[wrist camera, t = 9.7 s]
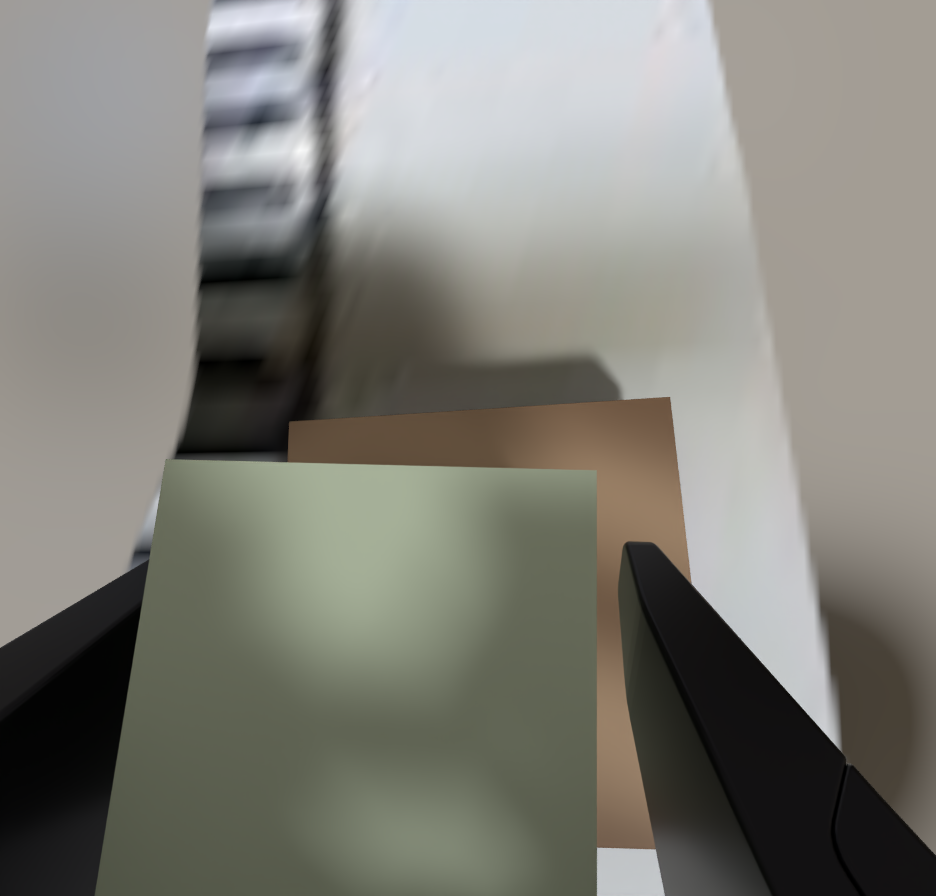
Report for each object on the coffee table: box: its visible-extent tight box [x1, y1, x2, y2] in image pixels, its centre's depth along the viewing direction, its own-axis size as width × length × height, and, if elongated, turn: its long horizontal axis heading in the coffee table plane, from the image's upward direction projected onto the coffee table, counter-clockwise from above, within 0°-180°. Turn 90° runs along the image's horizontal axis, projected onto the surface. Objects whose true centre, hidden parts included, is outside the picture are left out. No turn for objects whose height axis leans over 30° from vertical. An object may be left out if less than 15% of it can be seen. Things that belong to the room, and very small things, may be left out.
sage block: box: [95, 459, 597, 896], centre depth 10 cm, size 4×4×11 cm
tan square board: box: [288, 397, 691, 849], centre depth 17 cm, size 12×12×3 cm
